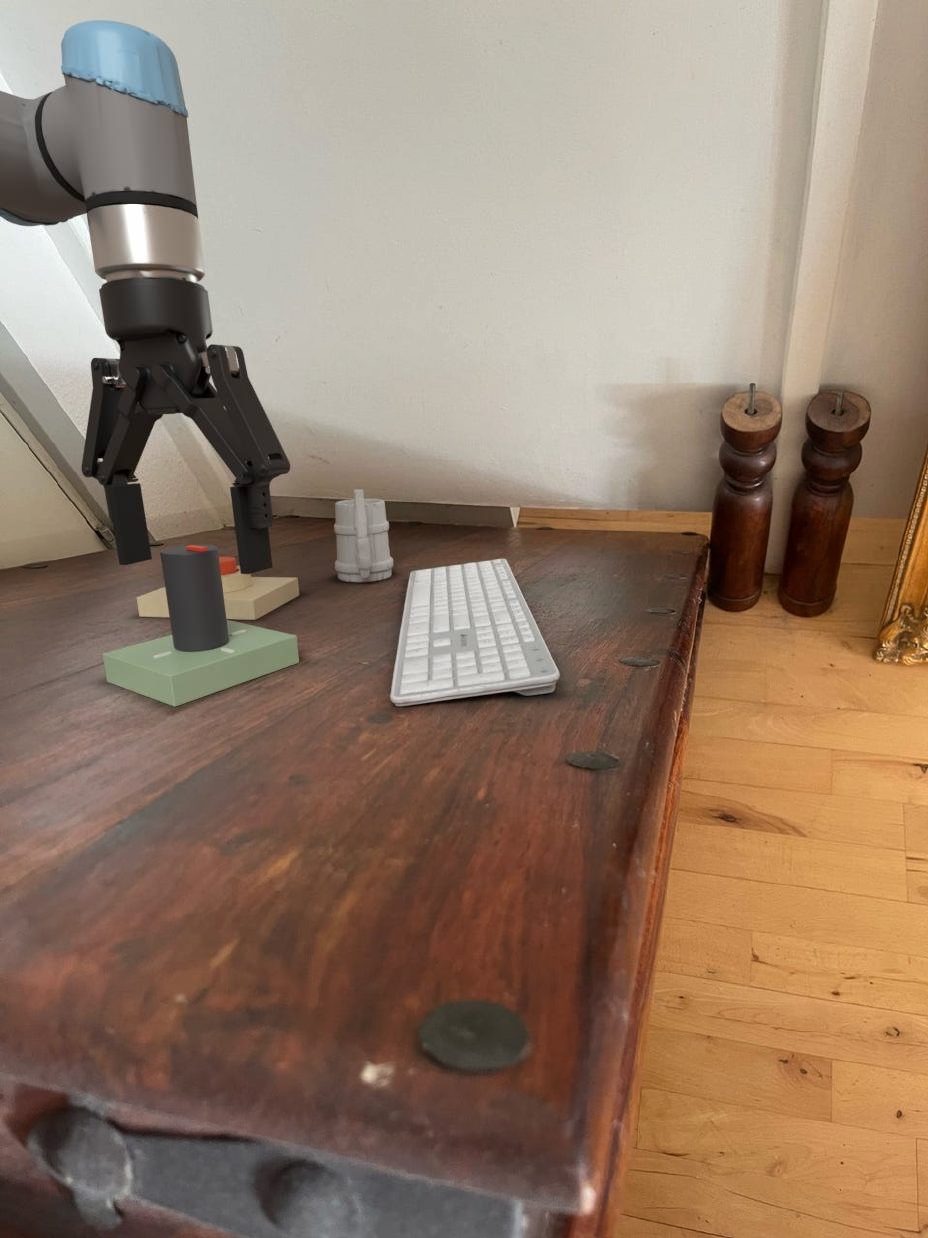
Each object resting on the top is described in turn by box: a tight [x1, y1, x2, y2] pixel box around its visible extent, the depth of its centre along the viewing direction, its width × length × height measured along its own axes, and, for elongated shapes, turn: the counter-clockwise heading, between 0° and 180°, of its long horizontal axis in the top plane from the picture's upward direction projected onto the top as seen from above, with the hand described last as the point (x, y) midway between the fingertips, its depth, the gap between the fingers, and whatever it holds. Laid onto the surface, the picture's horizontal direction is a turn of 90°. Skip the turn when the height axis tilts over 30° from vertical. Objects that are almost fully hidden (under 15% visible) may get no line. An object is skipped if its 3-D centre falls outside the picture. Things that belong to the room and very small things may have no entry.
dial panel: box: [102, 619, 300, 708], centre depth 63 cm, size 10×12×3 cm
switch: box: [219, 556, 237, 575], centre depth 84 cm, size 4×4×2 cm
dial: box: [159, 544, 229, 651], centre depth 61 cm, size 4×4×8 cm
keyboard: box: [389, 558, 561, 707], centre depth 75 cm, size 44×12×2 cm, turn 2°
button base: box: [136, 565, 300, 621], centre depth 85 cm, size 14×11×4 cm
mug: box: [333, 488, 394, 583], centre depth 95 cm, size 8×12×12 cm, turn 8°
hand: (193, 566), depth 60 cm, fingers open, 13 cm apart
